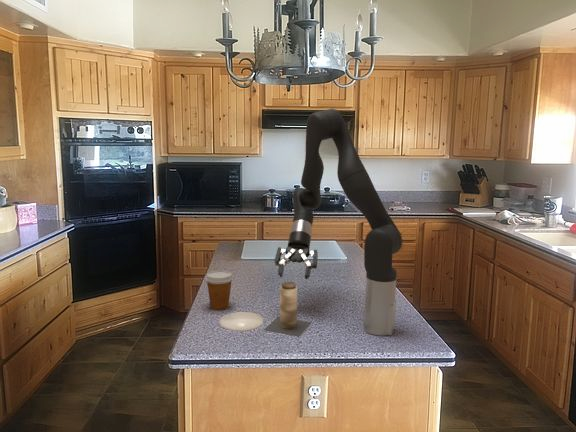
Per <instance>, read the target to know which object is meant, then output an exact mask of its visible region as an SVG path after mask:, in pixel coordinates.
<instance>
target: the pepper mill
mask: <svg viewBox="0 0 576 432" xmlns="http://www.w3.org/2000/svg"><path fill="white" fill-rule="evenodd" d="M297 309H298V286H297V285H296V283H295V282H293V281H285V282H282V283H281V285H280V287H279V317H280V328H282V329H286V330H290V329H294V328H296V326H297V320H298V319H297V317H298V312H297V311H298V310H297Z"/></svg>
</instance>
